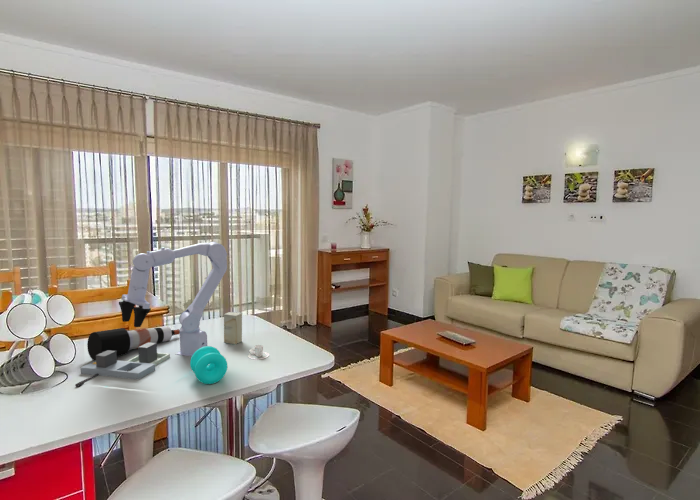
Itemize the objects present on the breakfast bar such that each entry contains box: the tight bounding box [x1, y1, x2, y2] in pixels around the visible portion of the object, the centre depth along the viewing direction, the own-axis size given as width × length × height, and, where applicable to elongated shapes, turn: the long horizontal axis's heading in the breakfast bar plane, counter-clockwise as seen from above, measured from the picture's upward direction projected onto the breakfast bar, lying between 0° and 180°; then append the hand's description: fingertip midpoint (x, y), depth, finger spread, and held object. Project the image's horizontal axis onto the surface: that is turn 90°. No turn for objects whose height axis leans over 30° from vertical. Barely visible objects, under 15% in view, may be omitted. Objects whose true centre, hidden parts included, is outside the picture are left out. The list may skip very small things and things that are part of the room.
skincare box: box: [223, 311, 243, 345], centre depth 166 cm, size 6×4×12 cm
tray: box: [127, 352, 171, 367], centre depth 144 cm, size 10×10×2 cm
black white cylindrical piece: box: [86, 326, 180, 361], centre depth 158 cm, size 10×34×10 cm, turn 146°
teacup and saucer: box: [247, 344, 270, 361], centre depth 152 cm, size 9×8×4 cm
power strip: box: [74, 350, 156, 388], centre depth 131 cm, size 22×16×6 cm
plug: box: [137, 342, 158, 363], centre depth 144 cm, size 4×5×6 cm
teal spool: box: [189, 345, 228, 385], centre depth 130 cm, size 10×10×10 cm
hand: (131, 324), depth 143 cm, fingers open, 7 cm apart
